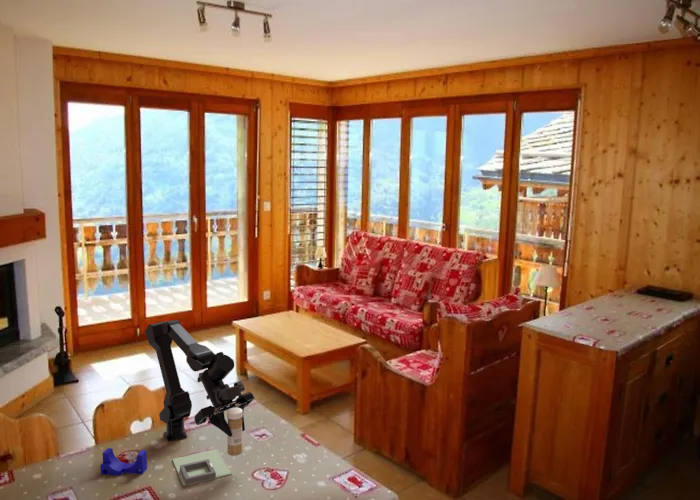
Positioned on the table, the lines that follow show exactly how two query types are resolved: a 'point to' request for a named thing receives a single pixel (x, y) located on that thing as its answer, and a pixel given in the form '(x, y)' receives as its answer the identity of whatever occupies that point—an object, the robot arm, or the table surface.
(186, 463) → the board
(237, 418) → the sprinkles bottle
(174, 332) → the robot arm
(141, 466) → the cable clip
